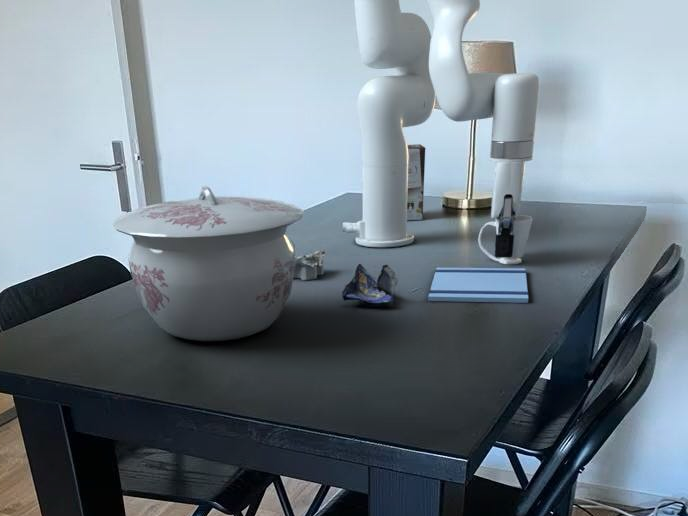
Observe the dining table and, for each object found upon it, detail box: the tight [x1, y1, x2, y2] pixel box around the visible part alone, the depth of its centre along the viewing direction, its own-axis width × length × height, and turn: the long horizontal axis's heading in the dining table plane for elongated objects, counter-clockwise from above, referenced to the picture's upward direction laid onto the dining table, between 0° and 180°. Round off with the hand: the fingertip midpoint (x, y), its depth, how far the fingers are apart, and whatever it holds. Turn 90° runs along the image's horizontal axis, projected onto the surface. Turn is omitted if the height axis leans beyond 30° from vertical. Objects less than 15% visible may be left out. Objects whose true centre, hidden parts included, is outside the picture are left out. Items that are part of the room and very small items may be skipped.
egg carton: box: [293, 250, 326, 281], centre depth 149 cm, size 11×8×4 cm
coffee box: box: [407, 143, 426, 221], centre depth 192 cm, size 9×6×16 cm
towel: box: [427, 267, 529, 304], centre depth 138 cm, size 16×20×1 cm
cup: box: [477, 214, 534, 265], centre depth 151 cm, size 7×10×8 cm
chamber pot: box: [112, 185, 304, 343], centre depth 117 cm, size 28×28×21 cm
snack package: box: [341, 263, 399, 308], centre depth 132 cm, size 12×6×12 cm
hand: (503, 251), depth 152 cm, fingers open, 6 cm apart
